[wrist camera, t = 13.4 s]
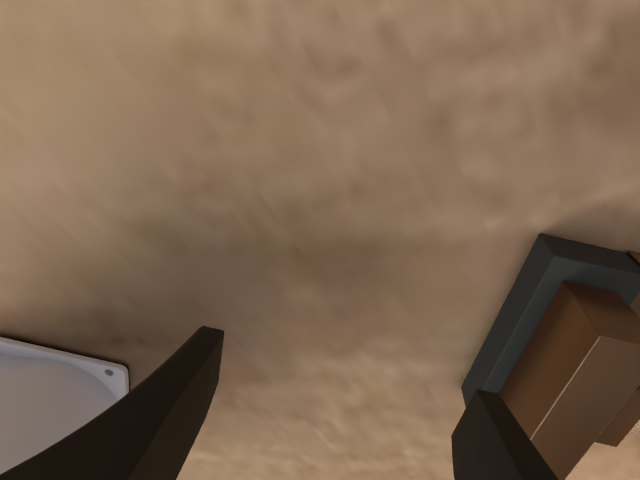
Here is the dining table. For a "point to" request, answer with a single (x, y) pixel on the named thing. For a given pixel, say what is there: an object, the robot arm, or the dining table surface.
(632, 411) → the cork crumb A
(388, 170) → the dining table surface
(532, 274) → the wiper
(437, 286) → the dining table surface
